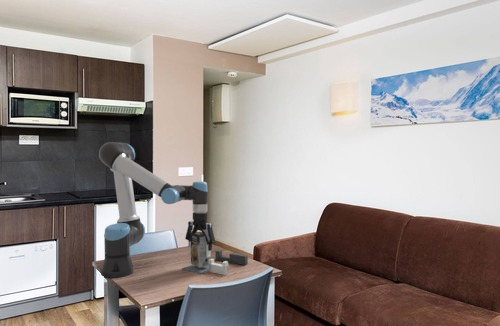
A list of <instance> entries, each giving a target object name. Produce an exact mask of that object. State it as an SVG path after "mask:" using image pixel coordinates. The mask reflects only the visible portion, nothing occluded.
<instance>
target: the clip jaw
mask: <svg viewBox="0 0 500 326" xmlns="http://www.w3.org/2000/svg"><path fill="white" fill-rule="evenodd" d="M208 272H209V273H214V274H219V275H223V276H227V275H229V262H228V261H223V262H222V264H221V263H216V262H215V259H214V258H209V271H208Z"/></svg>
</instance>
